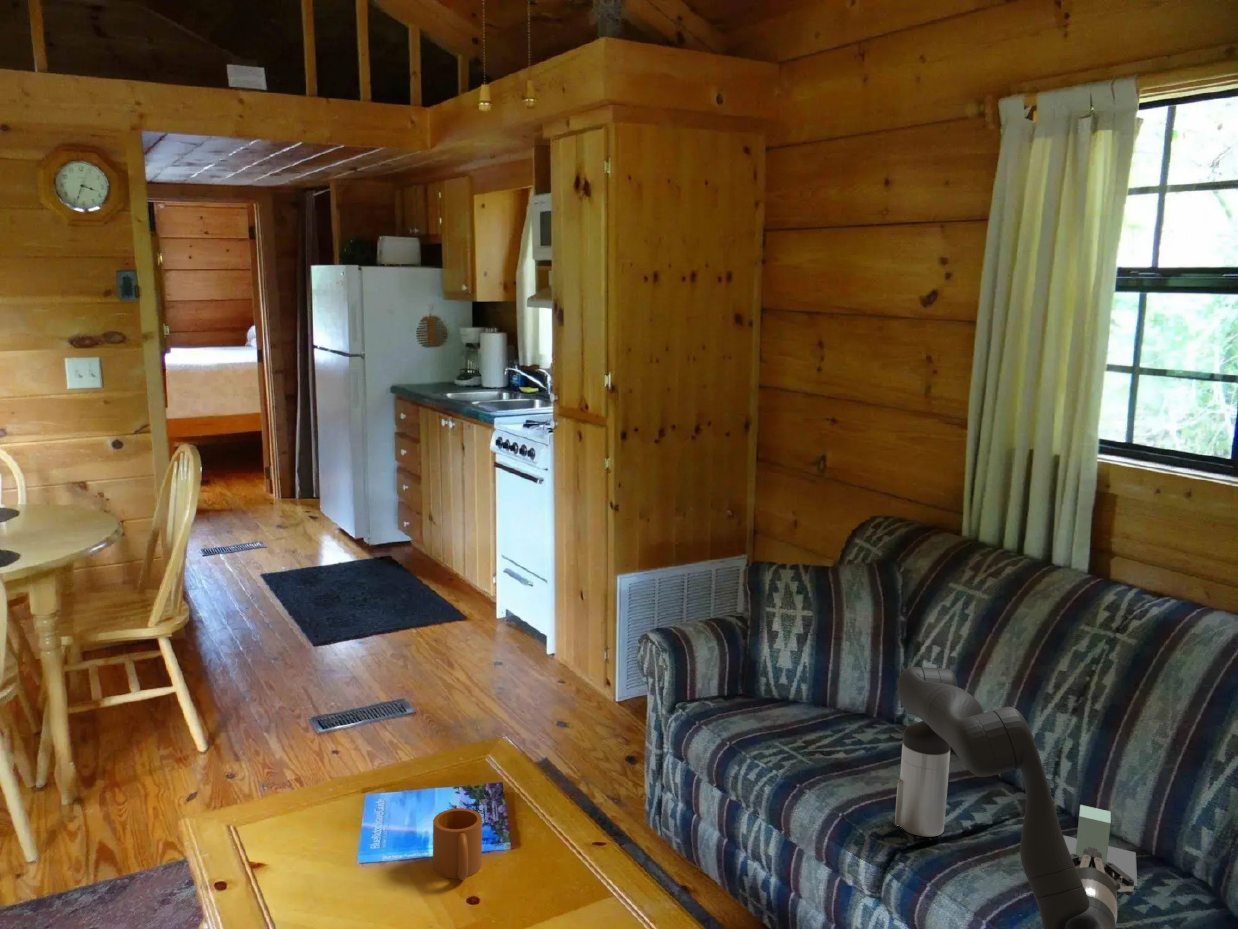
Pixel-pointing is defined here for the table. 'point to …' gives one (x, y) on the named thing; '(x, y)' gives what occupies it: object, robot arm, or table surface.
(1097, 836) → the tall block
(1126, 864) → the mat
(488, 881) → the table surface
